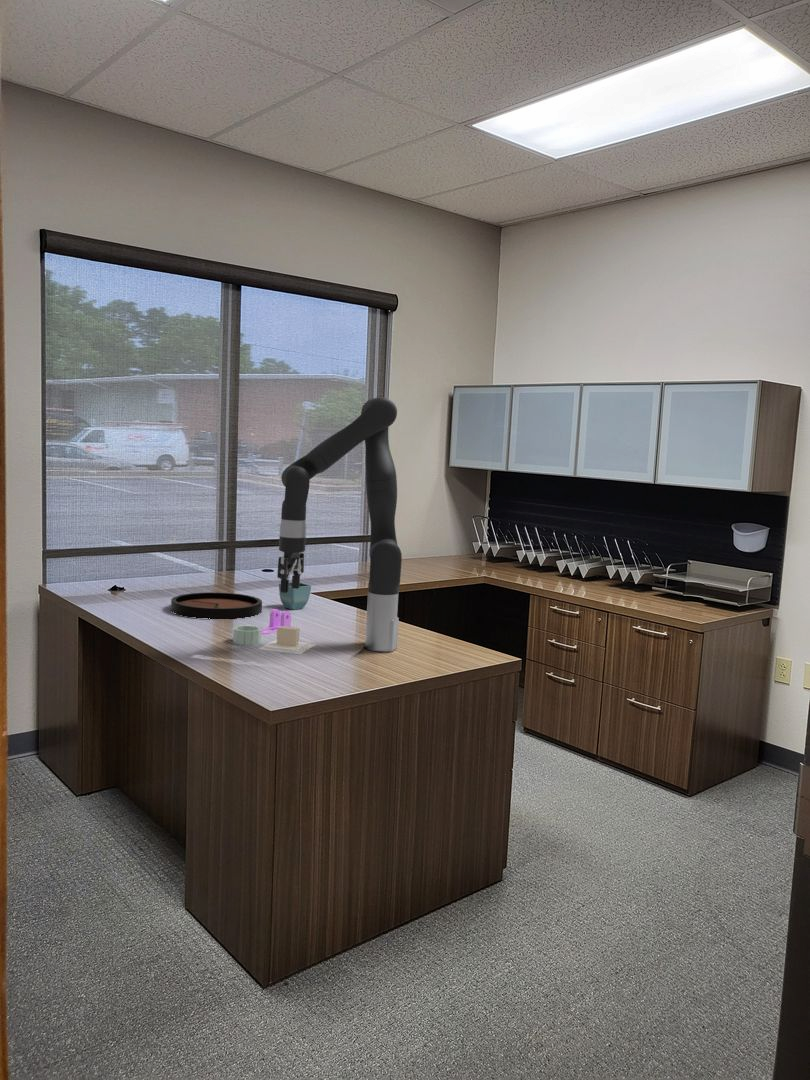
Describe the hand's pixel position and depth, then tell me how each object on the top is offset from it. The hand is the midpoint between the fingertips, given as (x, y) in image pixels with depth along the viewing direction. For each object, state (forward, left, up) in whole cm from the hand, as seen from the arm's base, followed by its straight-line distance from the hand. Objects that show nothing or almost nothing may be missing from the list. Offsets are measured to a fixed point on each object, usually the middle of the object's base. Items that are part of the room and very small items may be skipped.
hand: (290, 590), depth 247 cm
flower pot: (+22, -60, -18) cm, 66 cm away
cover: (0, 0, -17) cm, 17 cm away
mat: (0, 0, -18) cm, 18 cm away
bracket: (+13, -18, -18) cm, 29 cm away
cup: (+13, 0, -18) cm, 22 cm away
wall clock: (+44, -42, -18) cm, 63 cm away
